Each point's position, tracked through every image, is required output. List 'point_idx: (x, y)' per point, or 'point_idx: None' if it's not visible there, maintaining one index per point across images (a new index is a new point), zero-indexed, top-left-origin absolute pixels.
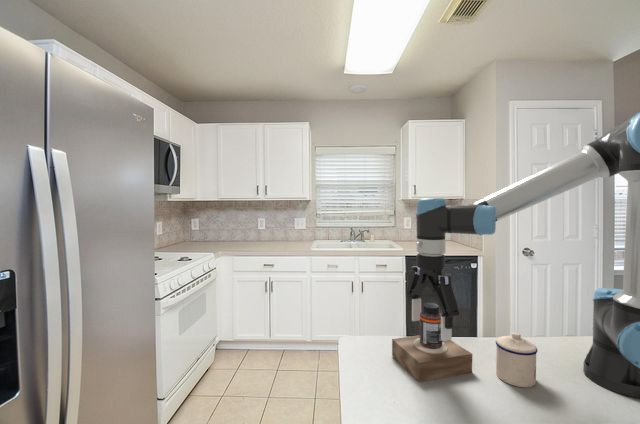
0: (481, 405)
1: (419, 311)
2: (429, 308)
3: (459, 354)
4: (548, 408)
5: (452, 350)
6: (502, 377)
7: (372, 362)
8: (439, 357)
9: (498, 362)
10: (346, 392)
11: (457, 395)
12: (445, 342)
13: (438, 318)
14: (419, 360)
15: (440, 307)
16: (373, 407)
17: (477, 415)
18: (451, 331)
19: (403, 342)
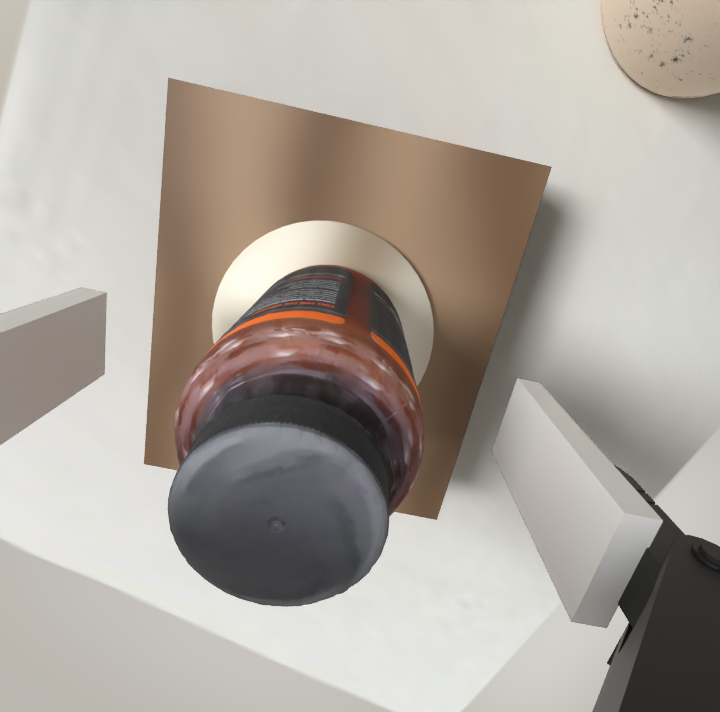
0: (676, 375)
1: (45, 338)
2: (337, 586)
3: (504, 257)
4: None
5: (443, 252)
6: (677, 95)
7: None
8: (457, 396)
9: (694, 61)
10: (341, 684)
11: (577, 402)
12: (332, 191)
13: (422, 457)
14: (422, 506)
15: (595, 705)
16: (447, 662)
17: (691, 437)
18: (565, 414)
19: None
